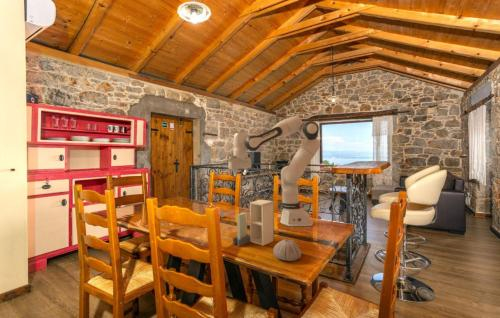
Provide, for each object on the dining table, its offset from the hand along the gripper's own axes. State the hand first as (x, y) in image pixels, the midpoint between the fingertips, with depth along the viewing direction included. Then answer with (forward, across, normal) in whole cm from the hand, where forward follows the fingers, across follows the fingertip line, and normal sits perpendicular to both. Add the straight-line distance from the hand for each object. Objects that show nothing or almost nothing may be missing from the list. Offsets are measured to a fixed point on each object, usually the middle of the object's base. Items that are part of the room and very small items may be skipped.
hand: (240, 175), depth 175 cm
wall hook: (+33, -1, +24) cm, 41 cm away
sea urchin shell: (+34, -27, -55) cm, 70 cm away
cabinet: (+33, -23, -31) cm, 51 cm away
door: (+33, -27, -26) cm, 50 cm away
